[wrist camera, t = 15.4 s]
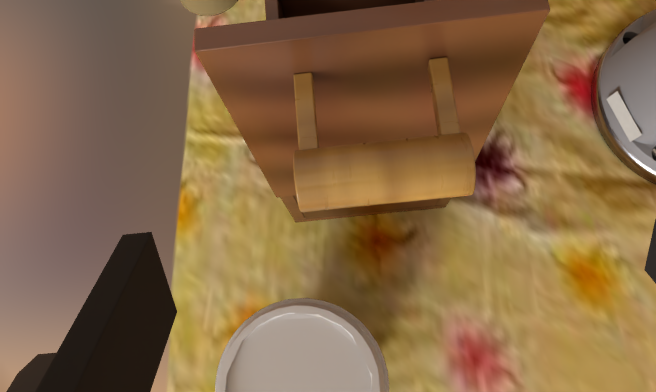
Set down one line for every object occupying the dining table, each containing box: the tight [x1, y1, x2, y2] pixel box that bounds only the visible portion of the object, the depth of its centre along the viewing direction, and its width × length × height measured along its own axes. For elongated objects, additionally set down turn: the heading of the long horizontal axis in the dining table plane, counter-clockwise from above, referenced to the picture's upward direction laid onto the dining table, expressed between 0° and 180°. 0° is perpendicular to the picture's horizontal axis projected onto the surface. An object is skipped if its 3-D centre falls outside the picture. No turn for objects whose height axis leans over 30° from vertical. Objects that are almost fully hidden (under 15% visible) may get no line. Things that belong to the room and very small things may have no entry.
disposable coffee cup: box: [215, 298, 389, 392], centre depth 35 cm, size 10×10×12 cm
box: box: [265, 0, 451, 222], centre depth 41 cm, size 16×12×9 cm
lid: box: [194, 0, 550, 212], centre depth 26 cm, size 17×12×6 cm
